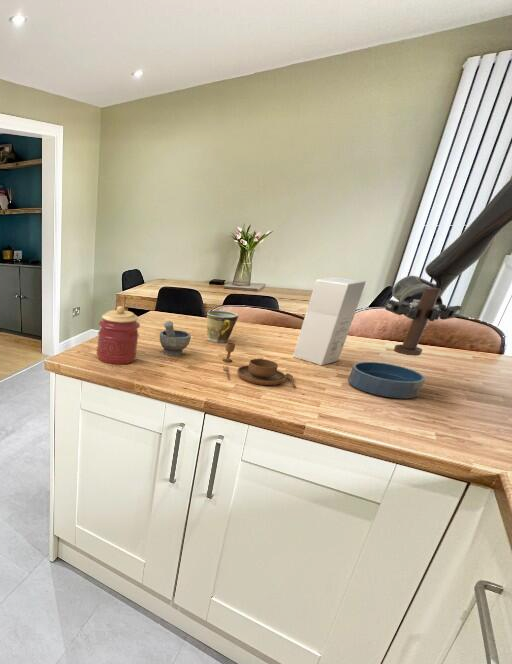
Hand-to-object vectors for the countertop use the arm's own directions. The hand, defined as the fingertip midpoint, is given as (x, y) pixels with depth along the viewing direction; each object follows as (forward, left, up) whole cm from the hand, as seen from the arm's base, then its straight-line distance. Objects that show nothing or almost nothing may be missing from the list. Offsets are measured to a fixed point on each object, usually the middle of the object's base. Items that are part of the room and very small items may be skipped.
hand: (423, 315), depth 94 cm
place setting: (+30, +3, -22) cm, 37 cm away
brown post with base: (0, -3, -10) cm, 10 cm away
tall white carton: (+18, -21, -22) cm, 35 cm away
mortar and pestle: (+56, +1, -22) cm, 60 cm away
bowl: (+2, -5, -22) cm, 22 cm away
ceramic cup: (+47, -22, -22) cm, 56 cm away
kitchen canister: (+69, +16, -22) cm, 74 cm away
